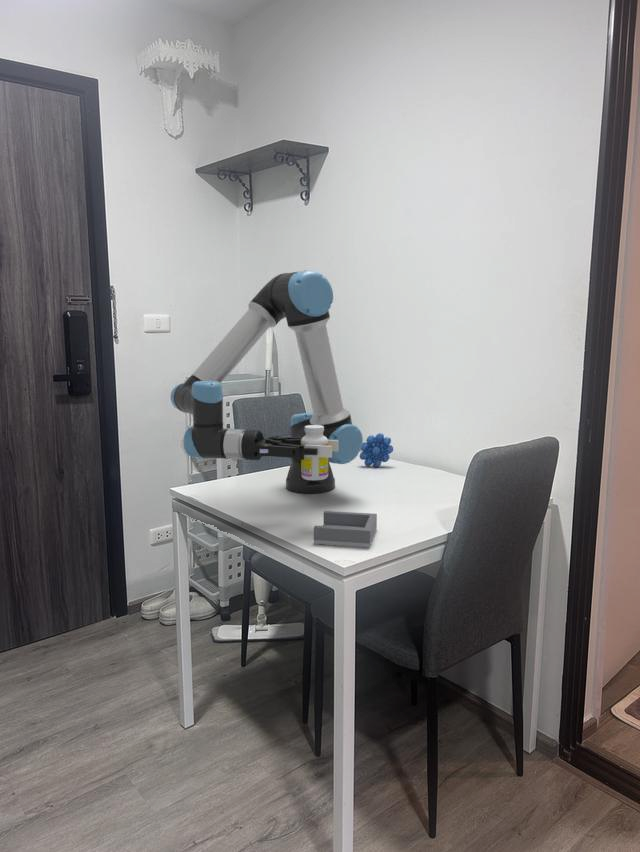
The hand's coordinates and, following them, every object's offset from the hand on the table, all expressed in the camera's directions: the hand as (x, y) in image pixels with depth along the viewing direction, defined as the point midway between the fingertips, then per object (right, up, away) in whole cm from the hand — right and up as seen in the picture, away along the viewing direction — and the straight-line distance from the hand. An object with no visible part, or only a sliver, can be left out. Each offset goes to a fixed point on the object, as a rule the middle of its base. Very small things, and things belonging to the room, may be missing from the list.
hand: (334, 448), depth 156 cm
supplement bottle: (-5, -7, +2) cm, 9 cm away
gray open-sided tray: (+2, -21, -3) cm, 21 cm away
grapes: (+16, -9, +68) cm, 71 cm away
